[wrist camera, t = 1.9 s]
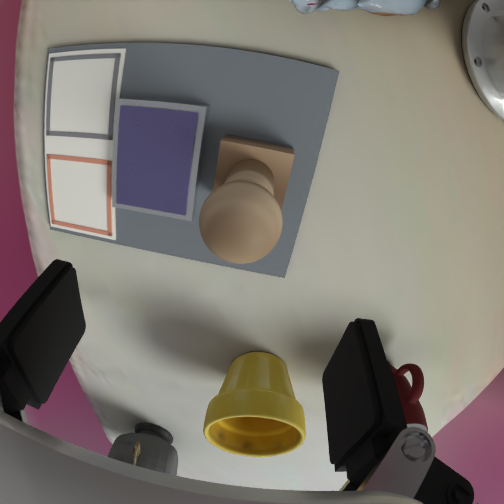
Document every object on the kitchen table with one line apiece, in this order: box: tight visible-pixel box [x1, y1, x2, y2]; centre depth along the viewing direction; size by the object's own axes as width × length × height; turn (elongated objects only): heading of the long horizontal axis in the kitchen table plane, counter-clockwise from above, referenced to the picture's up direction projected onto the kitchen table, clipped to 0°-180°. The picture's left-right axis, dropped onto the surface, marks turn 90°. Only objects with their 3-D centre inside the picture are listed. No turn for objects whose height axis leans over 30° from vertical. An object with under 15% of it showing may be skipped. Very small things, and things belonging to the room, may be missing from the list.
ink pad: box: [112, 97, 211, 221], centre depth 23 cm, size 9×7×2 cm
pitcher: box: [108, 423, 178, 476], centre depth 36 cm, size 11×19×30 cm, turn 171°
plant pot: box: [203, 352, 306, 457], centre depth 32 cm, size 10×10×10 cm
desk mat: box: [44, 43, 339, 278], centre depth 24 cm, size 18×24×1 cm
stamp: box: [199, 134, 295, 264], centre depth 19 cm, size 5×5×11 cm
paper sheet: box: [45, 49, 126, 240], centre depth 23 cm, size 17×8×1 cm, turn 170°
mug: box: [390, 364, 428, 432], centre depth 31 cm, size 11×8×10 cm
